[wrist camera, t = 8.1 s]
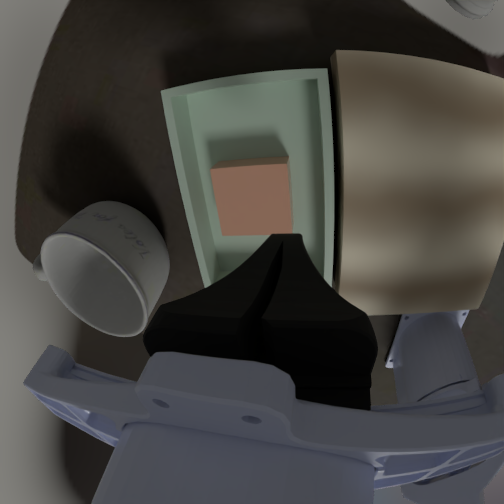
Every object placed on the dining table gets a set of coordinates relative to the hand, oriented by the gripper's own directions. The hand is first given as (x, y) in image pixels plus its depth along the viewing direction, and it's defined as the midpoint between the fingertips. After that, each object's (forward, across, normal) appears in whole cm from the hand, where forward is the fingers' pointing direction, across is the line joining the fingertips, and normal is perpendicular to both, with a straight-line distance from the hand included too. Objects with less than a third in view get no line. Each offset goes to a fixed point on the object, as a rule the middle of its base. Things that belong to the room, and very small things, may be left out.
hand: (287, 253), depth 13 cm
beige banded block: (+9, -10, 0) cm, 13 cm away
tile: (+7, +3, 0) cm, 7 cm away
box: (+9, +2, 0) cm, 9 cm away
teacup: (+9, +17, +4) cm, 20 cm away
